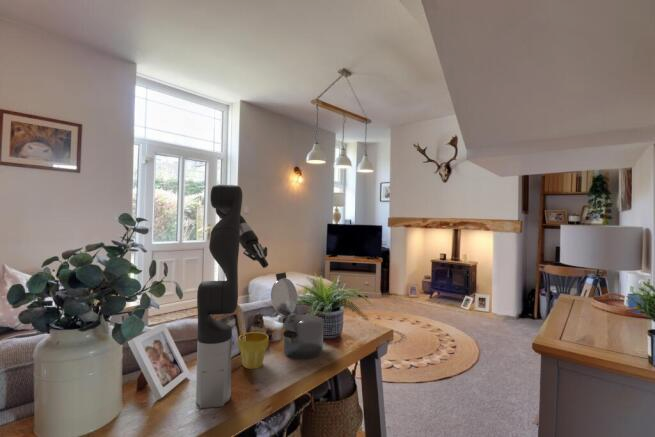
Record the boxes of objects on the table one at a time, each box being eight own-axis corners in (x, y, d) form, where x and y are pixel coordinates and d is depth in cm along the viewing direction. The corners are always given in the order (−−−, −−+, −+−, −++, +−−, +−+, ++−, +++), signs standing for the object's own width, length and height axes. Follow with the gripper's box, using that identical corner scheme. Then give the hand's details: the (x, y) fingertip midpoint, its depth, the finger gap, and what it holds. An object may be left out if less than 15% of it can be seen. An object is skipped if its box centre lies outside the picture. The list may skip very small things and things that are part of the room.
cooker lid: (293, 270, 145) (289, 271, 146) (269, 275, 133) (265, 276, 134) (299, 310, 143) (295, 311, 144) (276, 319, 131) (272, 319, 132)
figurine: (260, 338, 146) (261, 309, 146) (269, 343, 141) (270, 313, 141) (245, 341, 141) (246, 312, 141) (254, 347, 136) (255, 316, 136)
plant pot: (273, 360, 124) (273, 333, 123) (259, 373, 114) (260, 343, 114) (247, 356, 127) (247, 330, 126) (231, 368, 117) (232, 339, 117)
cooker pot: (333, 347, 137) (333, 316, 137) (303, 365, 121) (304, 330, 121) (299, 338, 146) (299, 309, 146) (267, 353, 130) (268, 321, 130)
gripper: (238, 230, 143) (259, 262, 136) (261, 229, 154) (281, 259, 148) (229, 242, 146) (249, 274, 139) (252, 240, 157) (271, 270, 150)
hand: (266, 266), depth 143 cm, fingers closed
